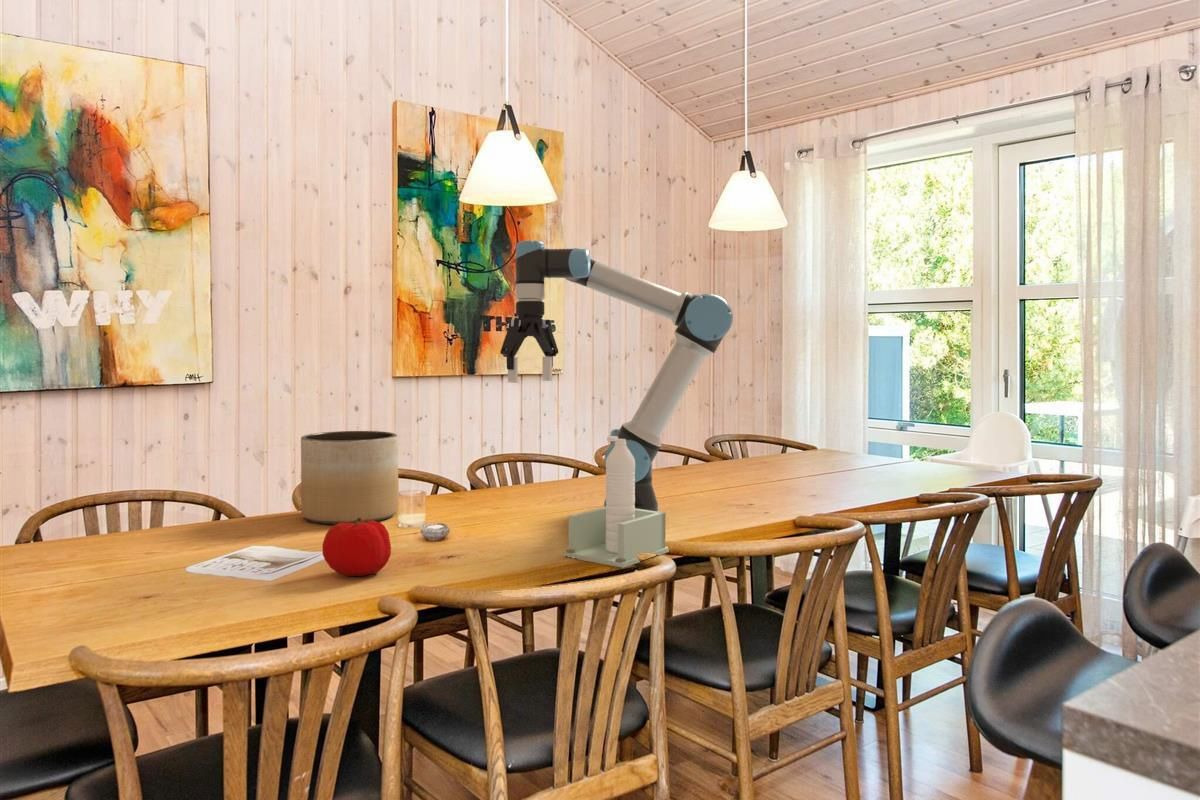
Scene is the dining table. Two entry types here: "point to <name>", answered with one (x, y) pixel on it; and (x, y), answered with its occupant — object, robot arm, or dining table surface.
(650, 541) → the u rest
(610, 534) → the water bottle
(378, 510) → the planter
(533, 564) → the dining table surface
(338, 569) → the tomato
